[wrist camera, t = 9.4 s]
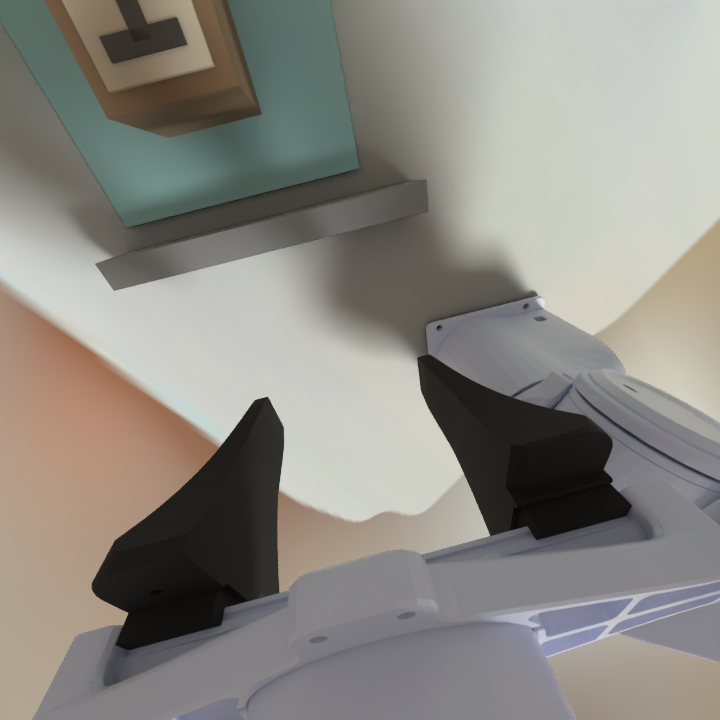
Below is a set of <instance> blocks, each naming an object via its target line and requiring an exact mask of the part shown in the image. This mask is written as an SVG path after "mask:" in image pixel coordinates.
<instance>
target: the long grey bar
mask: <svg viewBox="0 0 720 720" xmlns="http://www.w3.org/2000/svg"><path fill="white" fill-rule="evenodd" d="M424 212H428V197H427V183H426V180H414V181H407V182H403V183H400V184H396V185H392V186H388V187H384V188H380V189H376V190H372V191H368V192H364V193H360V194H356V195H352V196H348V197H344V198H340V199H336V200H332V201H329V202H325V203H321V204H317V205H313V206H309V207H305V208H301V209H297V210H293V211H289V212H285V213H281V214H277V215H273V216H269V217H265V218H261V219H257V220H254V221H250V222H246V223H242V224H238V225H234V226H230V227H226V228H222V229H218V230H214V231H210V232H206V233H202V234H198V235H194V236H190V237H186V238H183V239H179V240H175V241H171V242H167V243H163V244H159V245H155V246H151V247H147V248H143V249H139V250H135V251H131V252H127V253H125V254H122V255H119V256H116V257H113V258H110V259H107V260H104V261H102V262H99V263H96V264H95V265H96V266H97V267H98V269H99V270H100V272H101V273H102V274H103V276H104V277H105V279H106V280H107V281H108V283H109V284H110V286H111V287H112V289H113V290H114V291H115V290H119V289H123V288H127V287H131V286H135V285H139V284H143V283H147V282H151V281H155V280H159V279H163V278H167V277H171V276H175V275H179V274H183V273H187V272H191V271H194V270H198V269H202V268H206V267H210V266H214V265H218V264H222V263H226V262H230V261H234V260H238V259H242V258H246V257H250V256H254V255H258V254H262V253H266V252H270V251H274V250H278V249H282V248H286V247H290V246H294V245H298V244H302V243H306V242H309V241H313V240H317V239H321V238H325V237H329V236H333V235H337V234H341V233H345V232H349V231H353V230H357V229H361V228H365V227H369V226H373V225H377V224H381V223H385V222H389V221H393V220H397V219H401V218H405V217H409V216H413V215H417V214H420V213H424Z"/></svg>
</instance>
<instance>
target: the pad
mask: <svg viewBox="0 0 720 720" xmlns="http://www.w3.org/2000/svg"><path fill="white" fill-rule="evenodd" d="M228 4H229V7H230V10H231V13H232V17H233V20H234V23H235V27H236V30H237V33H238V36H239V40H240V43H241V46H242V50H243V53H244V56H245V59H246V63H247V66H248V69H249V73H250V76H251V79H252V82H253V86H254V89H255V92H256V96H257V99H258V102H259V105H260V109H261V112H262V114H261V115H257V116H253V117H249V118H245V119H242V120H238V121H234V122H230V123H226V124H222V125H218V126H214V127H210V128H206V129H202V130H198V131H194V132H190V133H187V134H183V135H179V136H175V137H171V138H167V137H164V136H161V135H158V134H154V133H151V132H148V131H145V130H142V129H138V128H135V127H132V126H129V125H126V124H122V123H119V122H116V121H113V120H110V119H107V117H106V115H105V113H104V111H103V109H102V108H101V106H100V104H99V102H98V100H97V98H96V96H95V95H94V93H93V91H92V89H91V87H90V85H89V83H88V81H87V80H86V78H85V76H84V74H83V72H82V70H81V68H80V67H79V65H78V63H77V61H76V59H75V57H74V55H73V54H72V52H71V50H70V48H69V46H68V44H67V42H66V41H65V39H64V37H63V35H62V33H61V31H60V29H59V27H58V26H57V24H56V22H55V20H54V18H53V16H52V14H51V13H50V11H49V9H48V7H47V5H46V3H45V1H44V0H0V21H1V23H2V25H3V26H4V28H5V30H6V31H7V33H8V34H9V36H10V38H11V39H12V41H13V43H14V44H15V46H16V48H17V49H18V51H19V53H20V54H21V56H22V57H23V59H24V61H25V62H26V64H27V66H28V67H29V69H30V71H31V72H32V74H33V75H34V77H35V79H36V80H37V82H38V84H39V85H40V87H41V89H42V90H43V92H44V94H45V95H46V97H47V98H48V100H49V102H50V103H51V105H52V107H53V108H54V110H55V112H56V113H57V115H58V117H59V118H60V120H61V121H62V123H63V125H64V126H65V128H66V130H67V131H68V133H69V135H70V136H71V138H72V140H73V141H74V143H75V144H76V146H77V148H78V149H79V151H80V153H81V154H82V156H83V158H84V159H85V161H86V162H87V164H88V166H89V167H90V169H91V171H92V172H93V174H94V176H95V177H96V179H97V181H98V182H99V184H100V185H101V187H102V189H103V190H104V192H105V194H106V195H107V197H108V199H109V200H110V202H111V204H112V205H113V207H114V208H115V210H116V212H117V213H118V215H119V217H120V218H121V220H122V222H123V223H124V225H125V227H126V228H127V227H131V226H135V225H139V224H143V223H147V222H151V221H155V220H159V219H163V218H167V217H171V216H175V215H179V214H182V213H186V212H190V211H194V210H198V209H202V208H206V207H210V206H214V205H218V204H222V203H226V202H230V201H234V200H238V199H241V198H245V197H249V196H253V195H257V194H261V193H265V192H269V191H273V190H277V189H281V188H285V187H289V186H293V185H296V184H300V183H304V182H308V181H312V180H316V179H320V178H324V177H328V176H332V175H336V174H340V173H344V172H348V171H352V170H355V169H359V162H358V156H357V151H356V145H355V139H354V134H353V128H352V122H351V117H350V111H349V105H348V100H347V94H346V88H345V83H344V77H343V71H342V66H341V60H340V54H339V49H338V43H337V37H336V32H335V26H334V20H333V15H332V9H331V3H330V0H228Z"/></svg>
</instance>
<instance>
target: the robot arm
mask: <svg viewBox="0 0 720 720" xmlns="http://www.w3.org/2000/svg"><path fill="white" fill-rule="evenodd" d="M544 302H545V300H544V298H542V297H540V296H535V297H531V298H527V299H523V300H519V301H515V302H511V303H507V304H503V305H499V306H495V307H491V308H487V309H483V310H479V311H475V312H471V313H467V314H463V315H458V316H454V317H450V318H446V319H442V320H438V321H434V322H431V323H429V324H428V325H427V326H426V336H427V346H428V355H425V356H422V357H418V358H417V360H418V368H419V377H420V385H421V392H422V394H423V396H424V399H425V401H426V403H427V406H428V408H429V410H430V412H431V413H432V415H433V417H434V418H435V420H436V422H437V423H438V425H439V427H440V429H441V430H442V432H443V434H444V435H445V437H446V439H447V440H448V442H449V444H450V445H451V447H452V449H453V451H454V453H455V455H456V457H457V459H458V461H459V463H460V466H461V468H462V470H463V472H464V474H465V477H466V479H467V481H468V483H469V486H470V488H471V490H472V492H473V495H474V497H475V499H476V502H477V504H478V507H479V509H480V511H481V514H482V516H483V519H484V521H485V523H486V526H487V528H488V531H489V533H490V536H489V537H486V538H482V539H478V540H474V541H471V542H467V543H463V544H460V545H456V546H452V547H449V548H445V549H441V550H438V551H434V552H430V553H426V554H423V555H420V554H419V553H417V552H416V551H412V550H406V549H399V550H392V551H386V552H382V553H379V554H375V555H372V556H367V557H364V558H360V559H356V560H353V561H349V562H345V563H341V564H338V565H334V566H331V567H327V568H323V569H319V570H316V571H312V572H310V573H308V574H305V575H303V576H301V577H299V578H298V579H297V580H296V581H295V582H294V583H293V584H292V585H291V586H290V588H289V591H285V592H281V593H279V579H278V552H277V551H278V550H277V508H278V491H279V483H280V475H281V467H282V459H283V450H284V427H283V425H282V423H281V421H280V419H279V417H278V415H277V413H276V411H275V409H274V408H273V406H272V404H271V402H270V400H269V398H268V397H265V398H261V399H257V400H255V401H254V402H253V404H252V405H251V406H250V408H249V409H248V410H247V412H246V413H245V415H244V416H243V418H242V419H241V420H240V422H239V423H238V424H237V426H236V427H235V429H234V430H233V431H232V433H231V434H230V435H229V437H228V438H227V439H226V440H225V442H224V443H223V444H222V445H221V447H220V448H219V449H218V450H217V452H216V453H215V454H214V455H213V456H212V457H211V459H210V460H209V461H208V462H207V463H206V464H205V465H204V466H203V467H202V468H201V469H200V470H199V471H198V472H197V473H196V474H195V475H194V476H193V477H192V478H191V479H190V480H189V481H188V482H187V483H186V484H185V485H184V486H183V487H182V488H181V489H180V490H179V491H177V492H176V493H175V494H174V495H173V496H172V497H171V498H169V499H168V500H167V501H166V502H165V503H164V504H163V505H161V506H160V507H159V508H158V509H156V510H155V511H154V512H153V513H151V514H150V515H149V516H148V517H146V518H145V519H144V520H142V521H141V522H140V523H138V524H137V525H136V526H134V527H133V528H131V529H130V530H129V531H128V532H126V533H125V534H123V535H122V536H121V537H119V538H118V539H116V540H115V541H114V543H113V545H112V547H111V549H110V551H109V552H108V554H107V556H106V558H105V560H104V562H103V564H102V565H101V567H100V569H99V571H98V573H97V575H96V577H95V578H94V580H93V582H92V590H93V592H94V593H95V595H96V596H97V597H98V598H100V599H102V600H103V601H105V602H107V603H109V604H111V605H113V606H115V607H118V608H120V609H122V610H124V611H126V612H128V616H127V618H126V621H125V623H124V625H112V626H107V627H104V628H99V629H96V630H92V631H88V632H85V633H81V634H79V635H77V636H76V637H75V638H74V640H73V642H72V644H71V646H70V648H69V650H68V652H67V654H66V656H65V658H64V660H63V661H62V663H61V666H60V667H59V669H58V671H57V673H56V675H55V677H54V679H53V681H52V683H51V685H50V687H49V689H48V690H47V692H46V694H45V696H44V698H43V700H42V702H41V704H40V706H39V708H38V710H37V712H36V714H35V716H34V718H33V720H577V719H576V717H575V715H574V712H573V710H572V709H571V707H570V704H569V702H568V700H567V699H566V697H565V694H564V692H563V690H562V688H561V686H560V684H559V682H558V680H557V678H556V676H555V674H554V672H553V670H552V668H551V666H550V664H549V662H548V660H547V657H550V656H553V655H556V654H559V653H562V652H564V651H568V650H571V649H573V648H576V647H579V646H582V645H585V644H588V643H591V642H594V641H597V640H600V639H603V638H606V637H608V636H611V635H614V634H617V633H618V634H621V635H623V636H626V637H630V638H633V639H637V640H640V641H643V642H646V643H650V644H654V645H657V646H661V647H665V648H668V649H672V650H676V651H680V652H683V653H687V654H691V655H694V656H698V657H701V658H704V659H707V660H711V661H714V662H717V663H719V664H720V423H719V422H718V421H716V420H715V419H713V418H711V417H710V416H708V415H706V414H705V413H703V412H701V411H699V410H698V409H696V408H694V407H693V406H691V405H689V404H687V403H685V402H683V401H681V400H680V399H678V398H676V397H674V396H672V395H670V394H668V393H666V392H664V391H662V390H660V389H658V388H656V387H654V386H652V385H650V384H647V383H645V382H643V381H641V380H638V379H636V378H634V377H631V376H629V375H627V374H626V371H625V369H624V367H623V365H622V363H621V361H620V360H619V359H618V357H617V356H616V354H615V353H614V352H613V351H612V350H611V349H610V348H609V347H608V346H607V345H606V344H605V343H603V342H602V341H600V340H599V339H597V338H595V337H593V336H592V335H590V334H588V333H586V332H584V331H583V330H581V329H579V328H577V327H575V326H573V325H572V324H570V323H568V322H566V321H564V320H563V319H561V318H559V317H557V316H555V315H554V314H552V313H550V312H548V311H546V310H544ZM525 304H526V306H525V307H524V308H523V306H524V305H525ZM439 325H441V327H440V328H439V329H436V328H437V326H439Z"/></svg>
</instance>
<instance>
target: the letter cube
mask: <svg viewBox="0 0 720 720" xmlns="http://www.w3.org/2000/svg"><path fill="white" fill-rule="evenodd" d="M44 1H45V3H46V5H47V7H48V9H49V11H50V13H51V14H52V16H53V18H54V20H55V22H56V24H57V26H58V27H59V29H60V31H61V33H62V35H63V37H64V39H65V41H66V42H67V44H68V46H69V48H70V50H71V52H72V54H73V55H74V57H75V59H76V61H77V63H78V65H79V67H80V68H81V70H82V72H83V74H84V76H85V78H86V80H87V81H88V83H89V85H90V87H91V89H92V91H93V93H94V95H95V96H96V98H97V100H98V102H99V104H100V106H101V108H102V109H103V111H104V113H105V115H106V117H107V119H110V120H113V121H116V122H119V123H122V124H126V125H129V126H132V127H135V128H138V129H142V130H145V131H148V132H151V133H154V134H158V135H161V136H164V137H167V138H171V137H175V136H179V135H183V134H187V133H190V132H194V131H198V130H202V129H206V128H210V127H214V126H218V125H222V124H226V123H230V122H234V121H238V120H242V119H245V118H249V117H253V116H257V115H261V114H262V112H261V109H260V105H259V102H258V99H257V96H256V92H255V89H254V86H253V82H252V79H251V76H250V73H249V69H248V66H247V63H246V59H245V56H244V53H243V50H242V46H241V43H240V40H239V36H238V33H237V30H236V27H235V23H234V20H233V17H232V13H231V10H230V7H229V4H228V0H44Z"/></svg>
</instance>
